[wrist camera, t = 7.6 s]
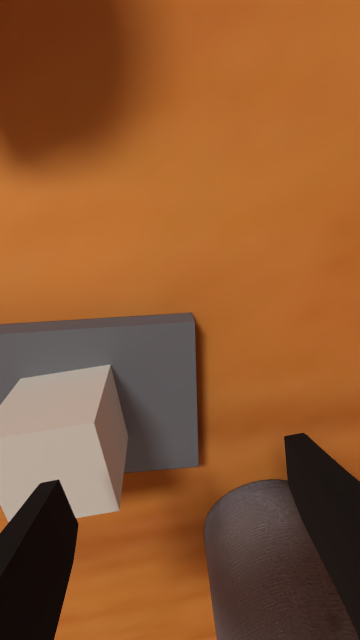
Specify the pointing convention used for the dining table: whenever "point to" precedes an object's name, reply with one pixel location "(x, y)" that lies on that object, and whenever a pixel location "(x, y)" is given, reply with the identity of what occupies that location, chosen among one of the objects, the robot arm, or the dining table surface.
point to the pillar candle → (269, 570)
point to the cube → (64, 440)
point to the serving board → (122, 376)
